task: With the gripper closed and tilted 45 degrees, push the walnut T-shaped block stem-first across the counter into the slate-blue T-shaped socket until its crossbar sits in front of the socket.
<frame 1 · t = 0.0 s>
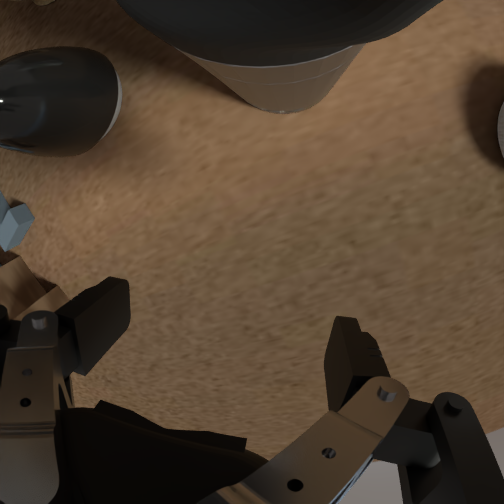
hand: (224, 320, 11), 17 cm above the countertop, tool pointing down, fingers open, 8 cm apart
roly-poly penguin toy: (95, 103, 26), on the countertop
t socket: (12, 259, 34), on the countertop
t block: (43, 301, 35), on the countertop
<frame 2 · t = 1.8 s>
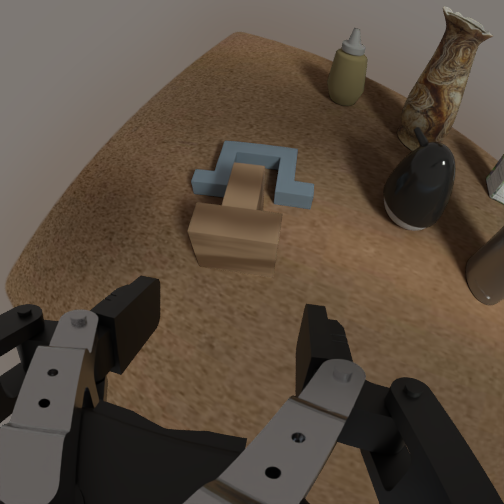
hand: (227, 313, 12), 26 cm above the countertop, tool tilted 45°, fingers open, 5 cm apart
vase: (417, 140, 56), on the countertop
squeeze bottle: (342, 99, 61), on the countertop
syrup box: (496, 193, 50), on the countertop
roly-poly penguin toy: (403, 213, 47), on the countertop
t socket: (250, 201, 47), on the countertop
t block: (241, 244, 44), on the countertop
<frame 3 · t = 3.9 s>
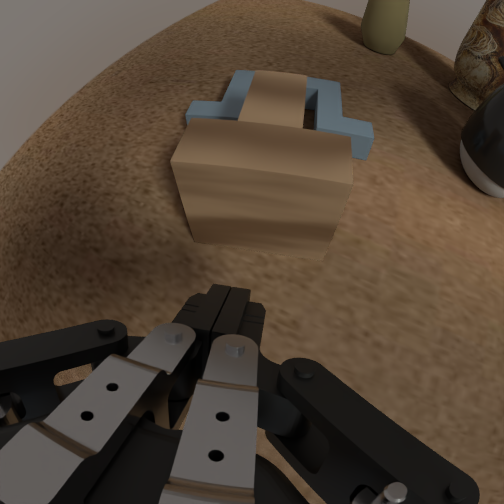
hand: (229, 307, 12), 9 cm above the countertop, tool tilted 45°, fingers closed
vase: (471, 99, 38), on the countertop
squeeze bottle: (378, 49, 43), on the countertop
roly-poly penguin toy: (481, 177, 29), on the countertop
t socket: (276, 146, 29), on the countertop
t block: (265, 206, 26), on the countertop
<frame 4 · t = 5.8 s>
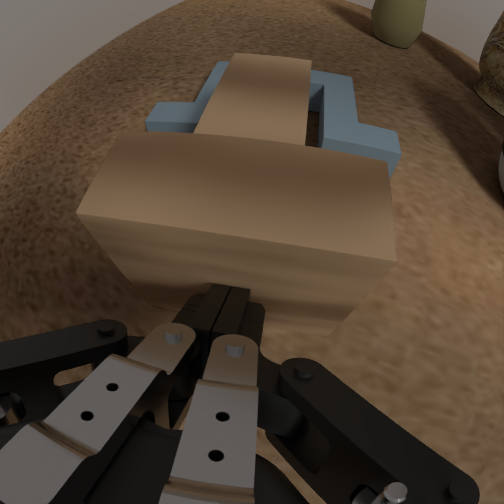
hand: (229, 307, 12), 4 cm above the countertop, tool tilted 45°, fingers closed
vase: (497, 102, 30), on the countertop
squeeze bottle: (391, 41, 36), on the countertop
t socket: (268, 162, 22), on the countertop
t block: (250, 252, 19), on the countertop, touching gripper
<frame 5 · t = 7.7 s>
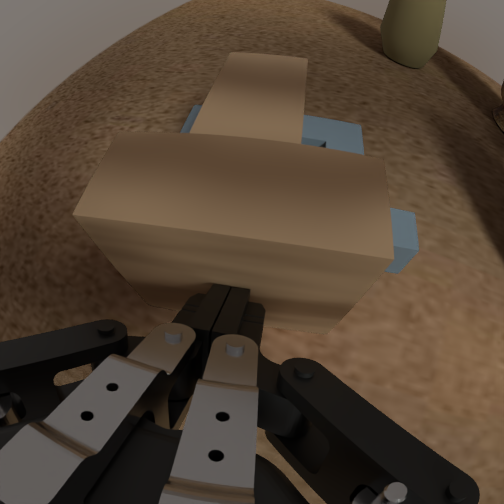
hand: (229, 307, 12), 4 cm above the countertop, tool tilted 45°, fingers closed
squeeze bottle: (402, 59, 32), on the countertop
t socket: (252, 254, 18), on the countertop
t block: (248, 251, 19), on the countertop, touching gripper
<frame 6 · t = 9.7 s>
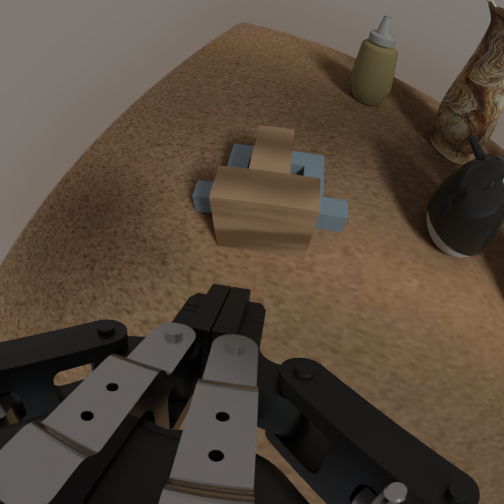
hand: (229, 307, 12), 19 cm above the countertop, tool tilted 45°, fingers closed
vase: (450, 148, 46), on the countertop
squeeze bottle: (366, 98, 52), on the countertop
roly-poly penguin toy: (445, 235, 37), on the countertop
t socket: (268, 222, 38), on the countertop
t block: (265, 220, 38), on the countertop
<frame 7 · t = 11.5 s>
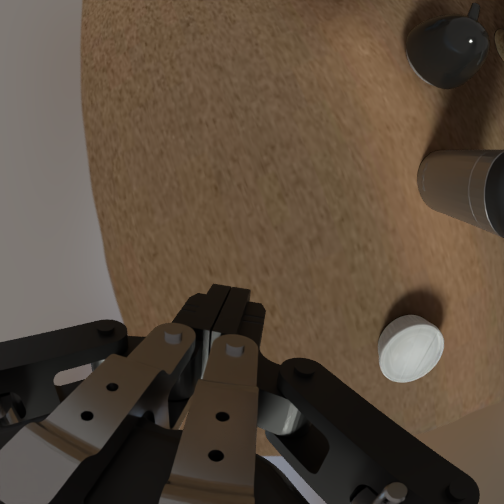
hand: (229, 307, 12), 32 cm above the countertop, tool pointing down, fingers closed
ramekin: (403, 337, 47), on the countertop
roly-poly penguin toy: (427, 62, 34), on the countertop
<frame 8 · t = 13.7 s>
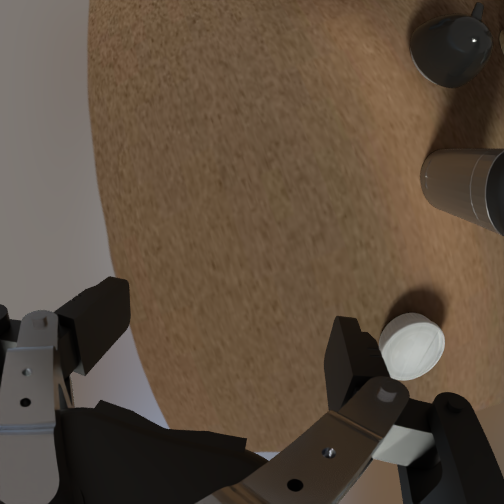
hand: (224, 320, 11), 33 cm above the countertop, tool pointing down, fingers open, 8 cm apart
ramekin: (404, 335, 47), on the countertop
roly-poly penguin toy: (431, 61, 34), on the countertop
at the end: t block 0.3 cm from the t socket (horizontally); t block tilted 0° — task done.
